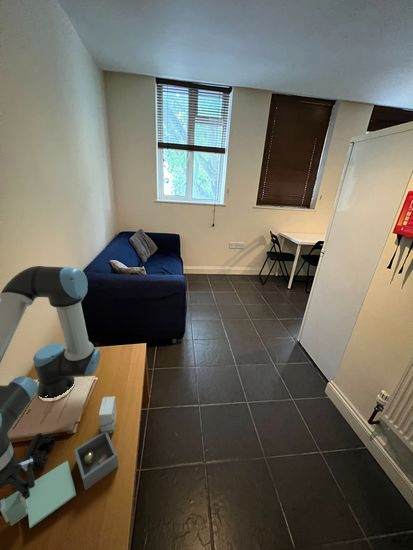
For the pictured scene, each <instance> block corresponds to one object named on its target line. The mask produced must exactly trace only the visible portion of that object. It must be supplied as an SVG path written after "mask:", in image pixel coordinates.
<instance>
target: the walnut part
mask: <svg viewBox="0 0 413 550" xmlns="http://www.w3.org/2000/svg"><path fill="white" fill-rule="evenodd" d="M109 458H110V457H109V456H108V455H106V454H105V455H104V456H103V457H102V458H101V459H100V460H99V461H98V464H99V465H100V464H101V463H103V462H104V461H106V460H107V459H109Z"/></svg>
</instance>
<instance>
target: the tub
mask: <svg viewBox="0 0 413 550" xmlns="http://www.w3.org/2000/svg"><path fill="white" fill-rule="evenodd" d="M87 451H93V455H94V463H93V464H92V465H91V466H89V467H87V466H86V465H85V461H84V454H85V453H86V452H87ZM73 452H74V456H75V460H76V464H77V468H78V470H79V474H80V477H81V481H82V485H83V487H84V491H87V490H88V489H89V488H91V487H92V486H93V485H95V484H96V483H98V482H100V480H102V479H103V478H104V477H106V476H108V475H109V474H110V473H112V472H113V471H114V470H115V469H116V468H118V467H119V458H118V454H117V451H116V449H115V447H114V445H113V442H112V440H111V438H110V435H109V434H108V433H107V431H104V432H102V433H101V432H100V433H99V434H98V435H96V436H95V437H93V438H91V439H88V440H87V441H86V442H85V443H83V444H81V445H80V446H78V447H76V448H74V450H73ZM105 454H106V455H108V456H109V457H110V458H109V459H107V460H106V461H104V462H103V463H101V464H100V465H99V464H98V461H99V460H100V459H101V458H102V457H103V456H104V455H105Z"/></svg>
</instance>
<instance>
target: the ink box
mask: <svg viewBox="0 0 413 550" xmlns="http://www.w3.org/2000/svg"><path fill="white" fill-rule="evenodd" d="M117 414H118V413H117V405H116V396H115V395H113V396H103V397H102V400H101V404H100V407H99V412H98V421H99V422H98V423H99V428H100V434H101V433H102V432H104V431H107V433H108V435H109V434H110V435H111V434H114V432H115V427H116V422H117Z"/></svg>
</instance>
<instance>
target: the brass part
mask: <svg viewBox="0 0 413 550" xmlns="http://www.w3.org/2000/svg"><path fill="white" fill-rule="evenodd" d="M84 461H85V465H86V466H87V467H89V466H91V465H92V464H93V463H94V455H93V451H87V452H86V453H85V454H84Z"/></svg>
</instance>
